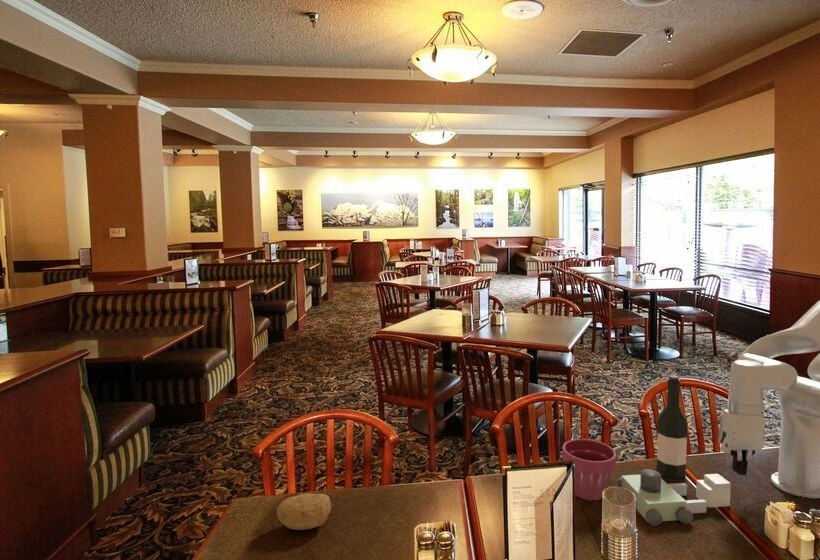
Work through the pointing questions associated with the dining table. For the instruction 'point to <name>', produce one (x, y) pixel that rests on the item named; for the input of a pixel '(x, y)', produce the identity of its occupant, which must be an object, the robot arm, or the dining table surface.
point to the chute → (714, 490)
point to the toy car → (661, 498)
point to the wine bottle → (672, 435)
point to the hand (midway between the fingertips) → (739, 472)
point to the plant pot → (590, 466)
